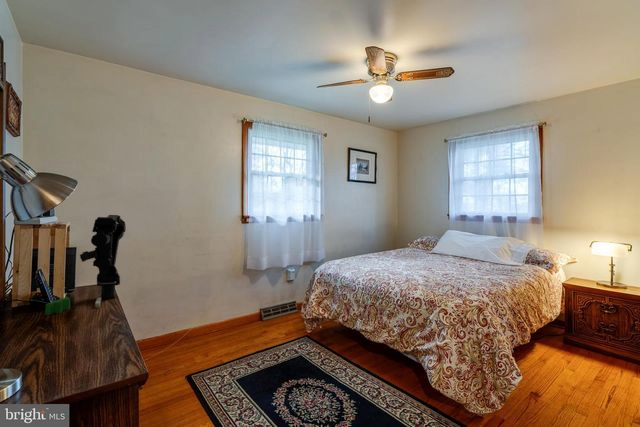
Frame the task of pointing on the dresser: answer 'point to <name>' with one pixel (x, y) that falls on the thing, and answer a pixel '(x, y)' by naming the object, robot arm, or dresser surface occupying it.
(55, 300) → the slot rails
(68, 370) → the dresser surface
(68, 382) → the dresser surface
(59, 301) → the pipe clamp
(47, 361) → the dresser surface
